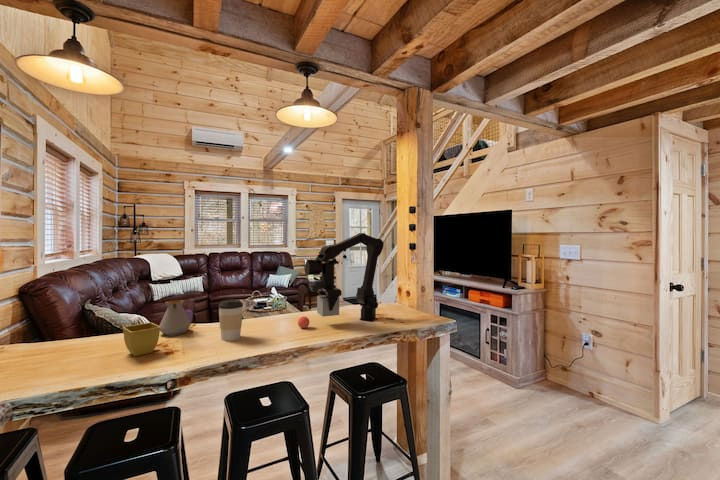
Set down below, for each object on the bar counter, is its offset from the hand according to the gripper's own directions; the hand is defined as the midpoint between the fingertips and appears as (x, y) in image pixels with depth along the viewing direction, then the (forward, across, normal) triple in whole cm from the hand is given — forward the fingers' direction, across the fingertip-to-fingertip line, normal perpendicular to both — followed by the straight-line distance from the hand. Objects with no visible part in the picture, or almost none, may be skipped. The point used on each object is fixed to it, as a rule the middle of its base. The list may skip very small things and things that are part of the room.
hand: (327, 308), depth 148 cm
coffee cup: (+8, +2, -41) cm, 42 cm away
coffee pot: (+8, -9, -61) cm, 62 cm away
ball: (+5, 0, -11) cm, 12 cm away
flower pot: (+8, +8, -70) cm, 70 cm away
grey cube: (+2, 0, 0) cm, 2 cm away
